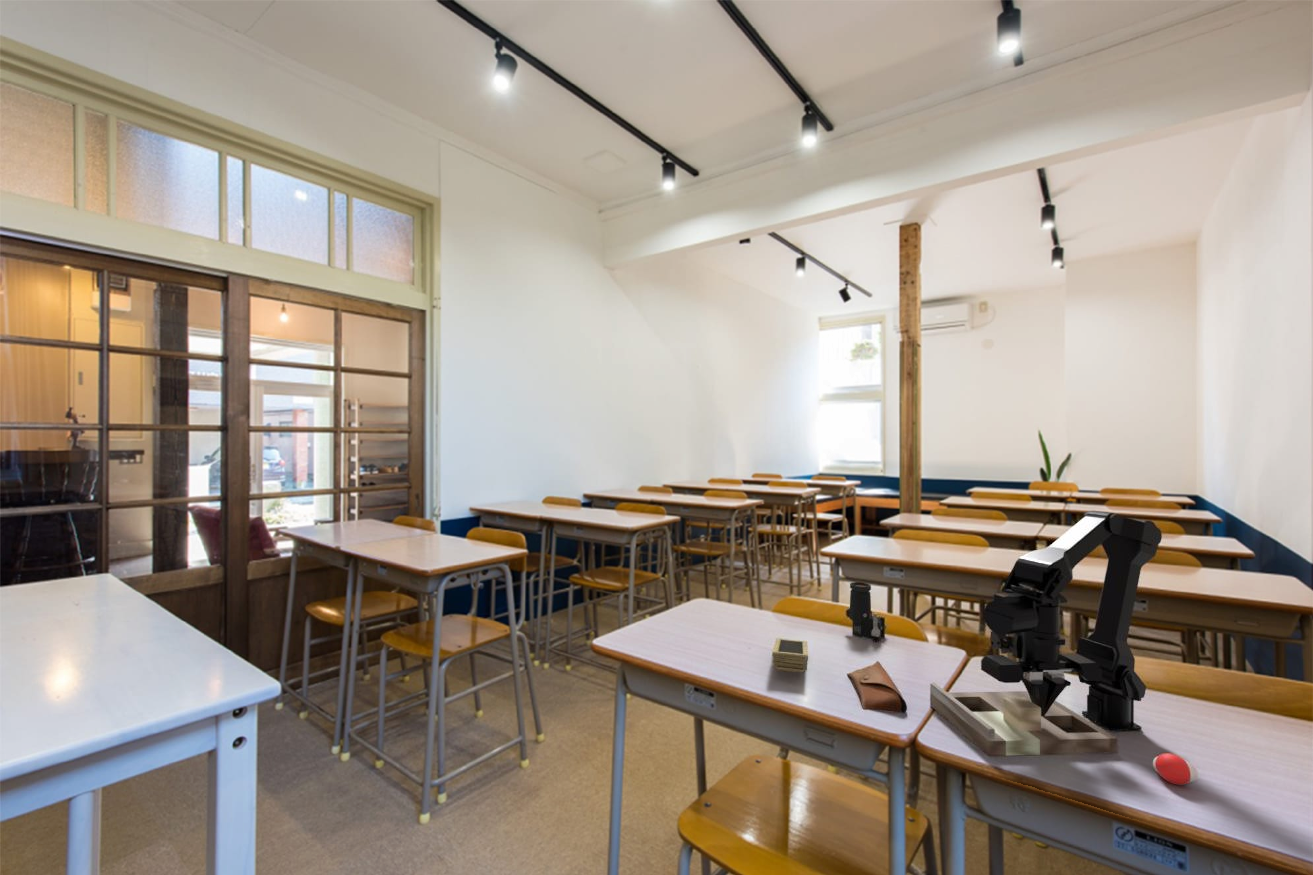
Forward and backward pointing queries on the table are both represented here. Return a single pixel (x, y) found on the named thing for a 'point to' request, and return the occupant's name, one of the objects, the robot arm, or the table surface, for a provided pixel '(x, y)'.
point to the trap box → (998, 738)
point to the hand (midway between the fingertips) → (1040, 715)
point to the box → (790, 655)
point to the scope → (864, 613)
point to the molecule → (1175, 769)
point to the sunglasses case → (877, 689)
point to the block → (1022, 714)
